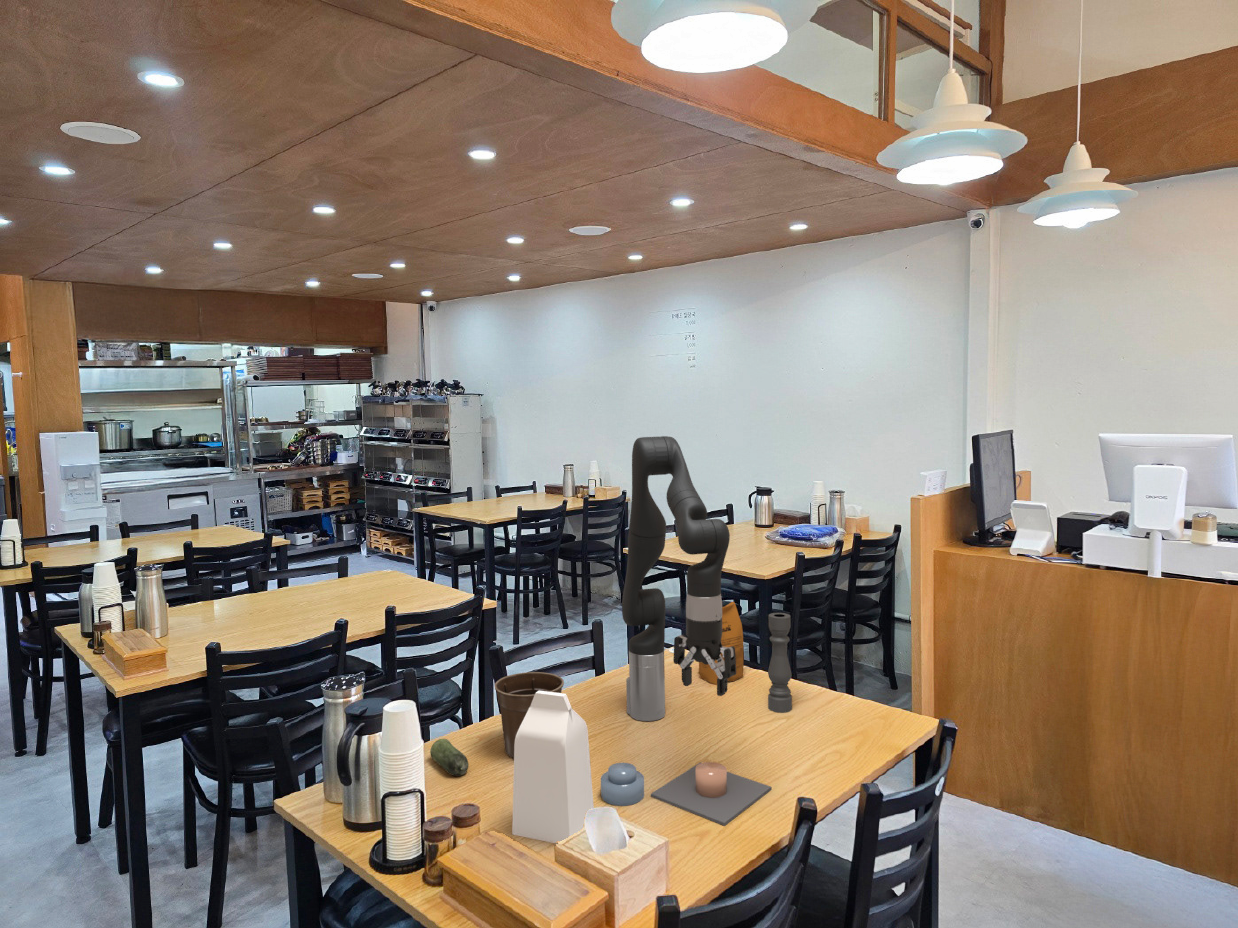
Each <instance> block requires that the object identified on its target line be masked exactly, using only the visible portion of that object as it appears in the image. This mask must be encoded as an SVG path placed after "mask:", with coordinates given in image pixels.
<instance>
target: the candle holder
mask: <svg viewBox="0 0 1238 928" xmlns="http://www.w3.org/2000/svg"><path fill="white" fill-rule="evenodd" d="M791 624H792V623H791V615H790V614H789V613H784V612H771V613H769V614H768V629H769V631H770V633H771V636H770V637H769V641H770V642H771V645H772V646H771V647H772V648H771V650H772V653H771V657H770V662H769V667H768V671H767V677H768V678H769V680H770V681H771V686H770V687H769V689H768V692H769V693H768V694H767V708H768V710H769V711H771V712H773V713H779V714H780V713H781V714H784V713H790V712H791V711H792V710H793V707H792V706H793V699H792V698H793V696H792V694H791V693H792V691H791V689H790V688H789V687H790V686H788V685H789V682H790V680H791V679H792V676H793V675H792V670H791V666H790V661H789V657H788V643H789V642H790V637H789V636H788V634H789V632H790V629H791Z"/></svg>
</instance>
